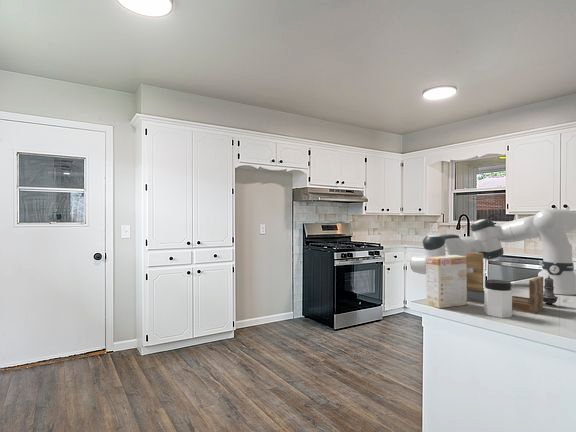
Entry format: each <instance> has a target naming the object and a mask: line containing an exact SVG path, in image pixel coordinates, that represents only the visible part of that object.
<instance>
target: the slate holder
mask: <svg viewBox="0 0 576 432" xmlns="http://www.w3.org/2000/svg"><path fill="white" fill-rule="evenodd" d="M467 300H469V301H475V302H480V303H484V289H483V291H474V290H467Z"/></svg>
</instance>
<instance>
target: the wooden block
mask: <svg viewBox="0 0 576 432" xmlns="http://www.w3.org/2000/svg"><path fill="white" fill-rule="evenodd" d="M466 257H467V259H466V260H467V268H474V269H475V272H474V273H467V290H474V291H483V290H484V258H483V253H478V252H477V253H472V252H467V253H466Z"/></svg>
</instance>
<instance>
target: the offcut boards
mask: <svg viewBox="0 0 576 432" xmlns="http://www.w3.org/2000/svg"><path fill="white" fill-rule="evenodd" d="M512 302H519V303H525V304H529V302H528V300H526V299H519V298H512Z"/></svg>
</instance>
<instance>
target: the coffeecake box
mask: <svg viewBox="0 0 576 432" xmlns="http://www.w3.org/2000/svg"><path fill="white" fill-rule="evenodd" d="M466 259H467V257H466V256H459V255H449V254H447V255H446V256H429V257H426V273H427V275H426V305H427V306H430V307H434V308H437V309H443V308H444V309H445V308H451V307H458V306H459V307H460V306H466V305H468V301H467V300H468V299H467V260H466Z"/></svg>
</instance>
